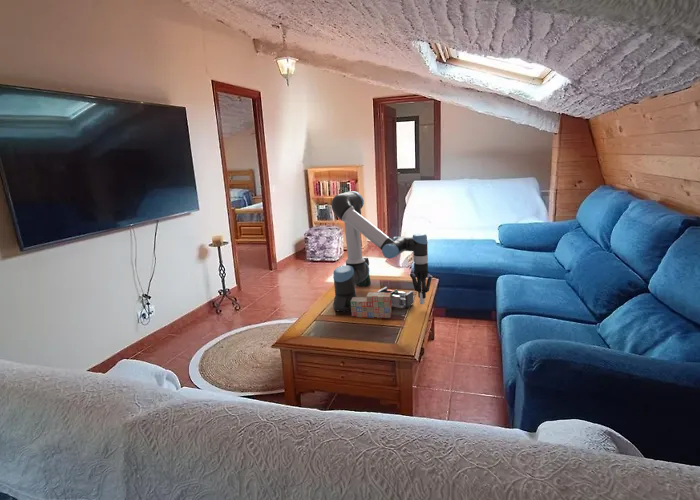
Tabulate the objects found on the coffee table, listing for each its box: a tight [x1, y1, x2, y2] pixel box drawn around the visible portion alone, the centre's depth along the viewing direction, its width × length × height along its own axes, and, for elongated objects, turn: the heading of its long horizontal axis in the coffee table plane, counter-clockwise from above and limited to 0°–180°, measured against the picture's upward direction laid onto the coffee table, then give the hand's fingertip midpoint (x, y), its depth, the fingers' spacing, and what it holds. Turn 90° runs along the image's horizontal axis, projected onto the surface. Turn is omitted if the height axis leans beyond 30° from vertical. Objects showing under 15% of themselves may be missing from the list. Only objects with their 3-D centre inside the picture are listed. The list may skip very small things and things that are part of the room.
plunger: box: [391, 288, 414, 309], centre depth 233 cm, size 9×15×8 cm, turn 53°
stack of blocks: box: [350, 291, 393, 319], centre depth 220 cm, size 21×6×12 cm, turn 77°
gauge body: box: [376, 286, 407, 309], centre depth 235 cm, size 9×17×7 cm, turn 53°
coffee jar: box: [356, 257, 372, 287], centre depth 269 cm, size 10×8×19 cm
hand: (422, 303), depth 224 cm, fingers closed
